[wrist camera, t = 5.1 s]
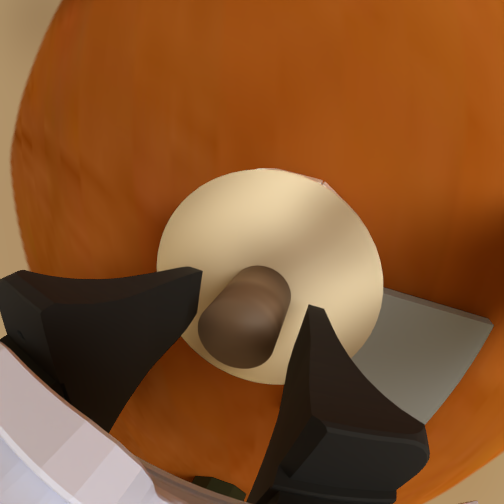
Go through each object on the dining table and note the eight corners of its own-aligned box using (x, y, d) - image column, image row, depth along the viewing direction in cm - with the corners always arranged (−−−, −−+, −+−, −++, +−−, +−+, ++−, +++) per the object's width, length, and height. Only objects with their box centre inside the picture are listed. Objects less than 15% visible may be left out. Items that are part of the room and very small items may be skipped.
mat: (488, 318, 14) (493, 325, 13) (412, 428, 18) (414, 436, 17) (343, 275, 16) (344, 281, 15) (289, 404, 20) (287, 413, 19)
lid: (425, 262, 11) (462, 306, 7) (291, 401, 15) (276, 458, 11) (224, 125, 12) (174, 109, 8) (141, 300, 16) (93, 335, 12)
